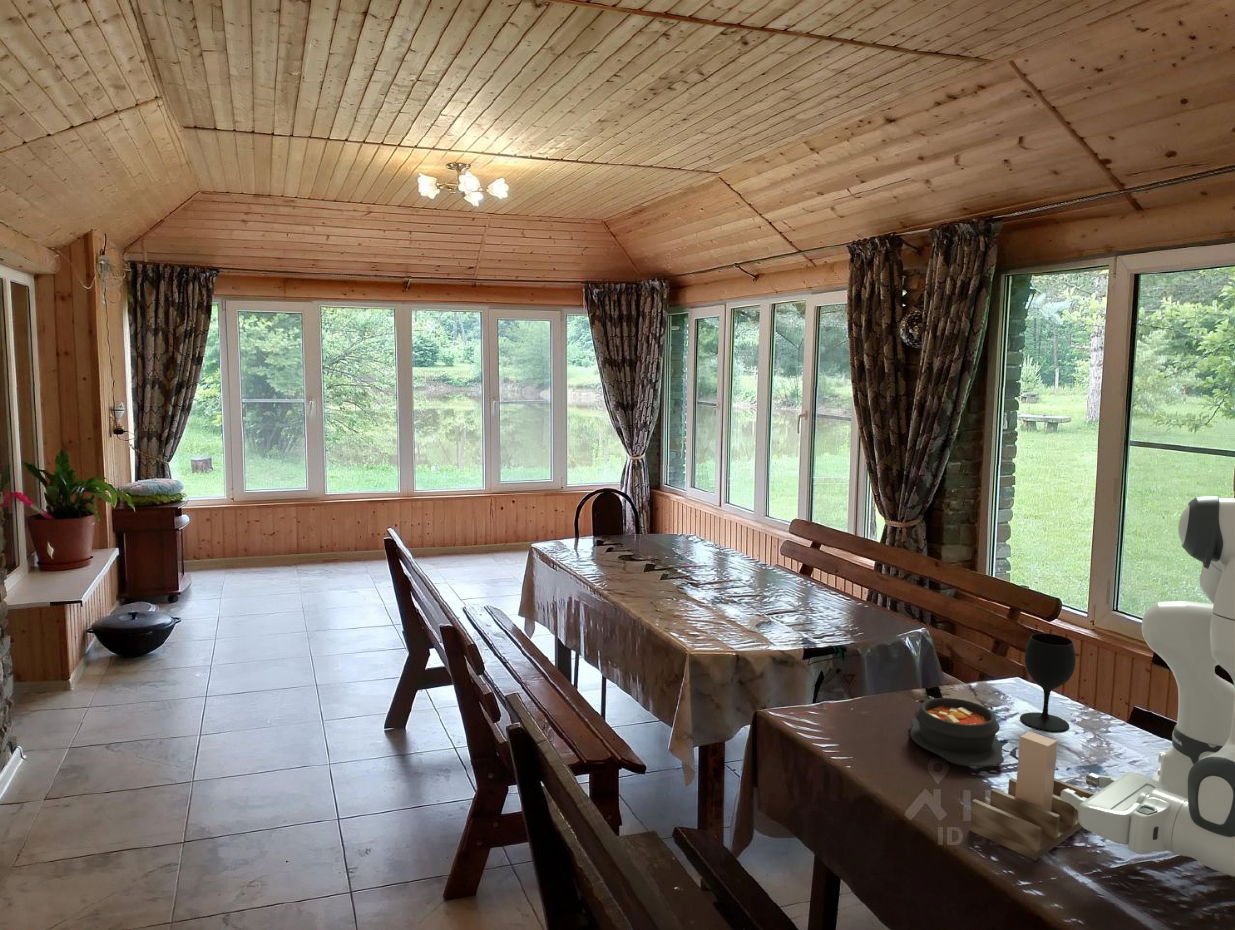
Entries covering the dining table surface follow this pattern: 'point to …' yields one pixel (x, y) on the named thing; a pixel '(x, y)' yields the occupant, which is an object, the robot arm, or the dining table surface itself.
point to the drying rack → (1026, 820)
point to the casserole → (958, 732)
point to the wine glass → (1048, 675)
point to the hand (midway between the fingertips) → (1075, 785)
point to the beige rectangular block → (1036, 770)
